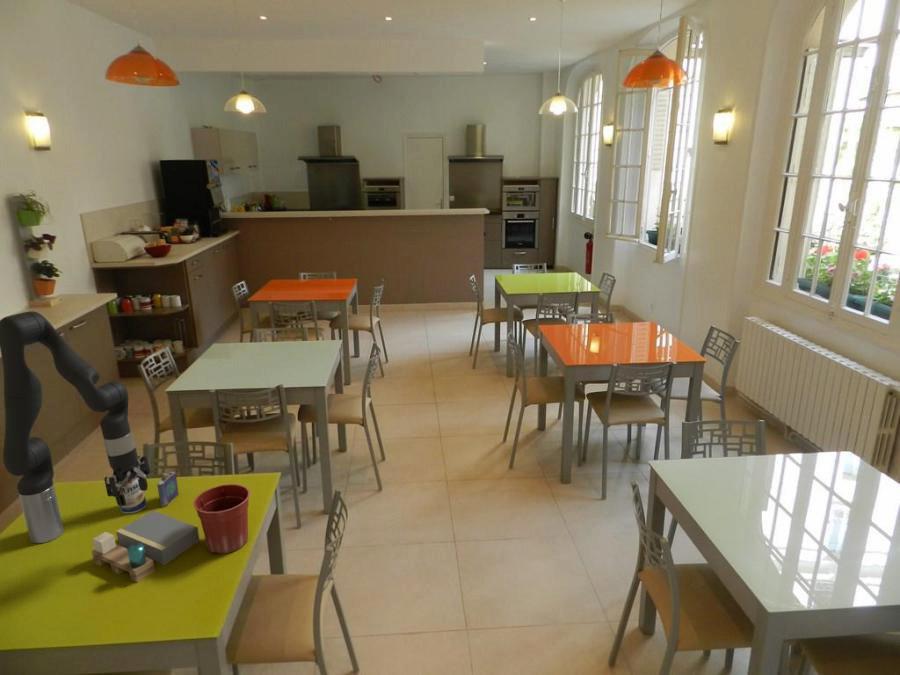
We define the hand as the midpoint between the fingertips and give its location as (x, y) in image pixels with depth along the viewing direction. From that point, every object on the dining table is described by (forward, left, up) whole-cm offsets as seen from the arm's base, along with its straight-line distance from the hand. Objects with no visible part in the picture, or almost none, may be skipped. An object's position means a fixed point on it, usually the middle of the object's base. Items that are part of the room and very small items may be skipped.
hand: (133, 497), depth 180 cm
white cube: (-7, -7, -15) cm, 18 cm away
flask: (-18, +24, -19) cm, 36 cm away
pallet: (+1, -7, -19) cm, 21 cm away
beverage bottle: (-25, +15, -19) cm, 35 cm away
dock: (0, +5, -19) cm, 20 cm away
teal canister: (+8, -7, -15) cm, 19 cm away
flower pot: (+20, +15, -19) cm, 32 cm away
